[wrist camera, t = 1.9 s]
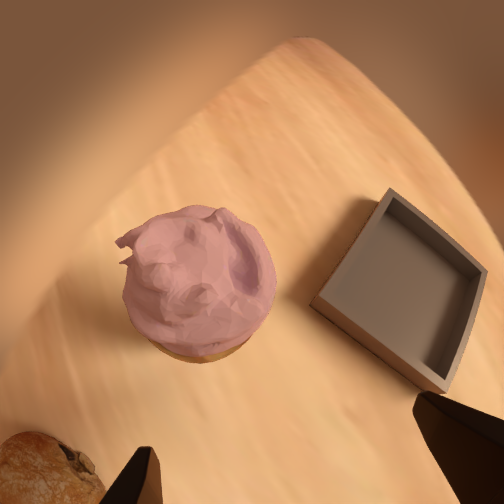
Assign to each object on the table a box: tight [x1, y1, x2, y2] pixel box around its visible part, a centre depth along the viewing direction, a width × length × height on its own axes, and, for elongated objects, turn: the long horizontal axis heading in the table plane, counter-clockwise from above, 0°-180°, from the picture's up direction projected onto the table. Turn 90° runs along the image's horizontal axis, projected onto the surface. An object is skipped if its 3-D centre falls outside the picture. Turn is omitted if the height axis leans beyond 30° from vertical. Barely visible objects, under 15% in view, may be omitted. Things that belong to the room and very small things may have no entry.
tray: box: [310, 188, 488, 394], centre depth 25 cm, size 14×14×2 cm
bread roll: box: [0, 432, 106, 504], centre depth 13 cm, size 10×10×8 cm
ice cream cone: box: [115, 205, 277, 364], centre depth 16 cm, size 7×6×15 cm
